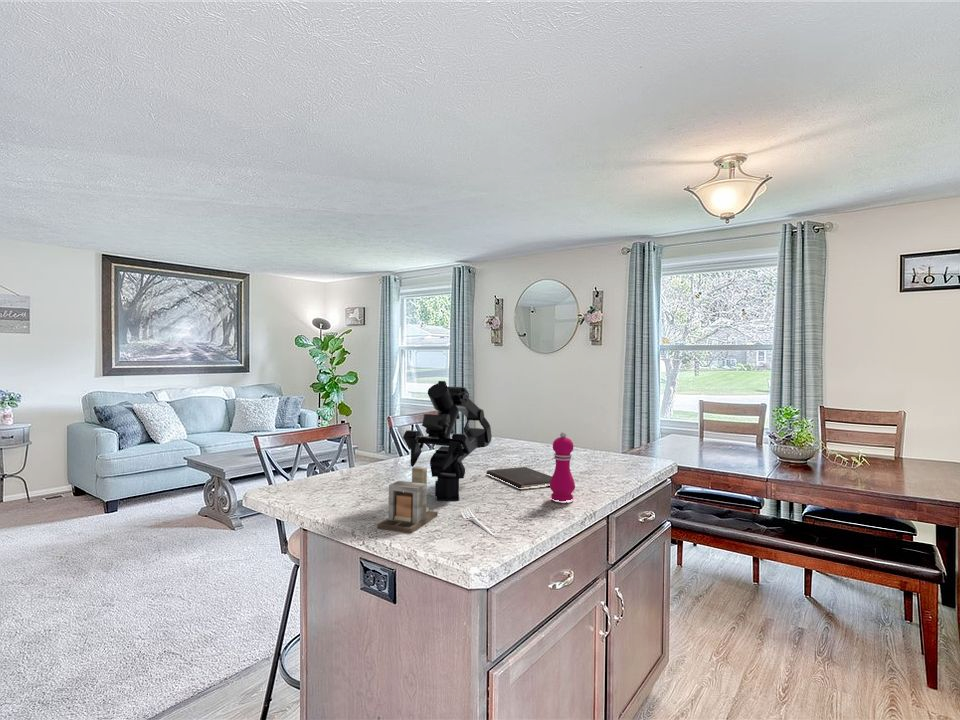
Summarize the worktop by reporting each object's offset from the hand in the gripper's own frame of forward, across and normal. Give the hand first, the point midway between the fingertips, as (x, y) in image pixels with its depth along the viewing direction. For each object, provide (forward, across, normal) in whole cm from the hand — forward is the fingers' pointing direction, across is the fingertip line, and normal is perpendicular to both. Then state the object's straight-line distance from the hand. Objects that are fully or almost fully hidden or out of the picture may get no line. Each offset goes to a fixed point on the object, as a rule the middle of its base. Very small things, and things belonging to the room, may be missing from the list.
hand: (427, 467), depth 137 cm
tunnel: (+16, 0, 0) cm, 16 cm away
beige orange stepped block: (+13, 0, +1) cm, 13 cm away
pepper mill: (-9, +32, +26) cm, 42 cm away
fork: (+12, +17, +5) cm, 22 cm away
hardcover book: (-23, +14, +41) cm, 49 cm away
